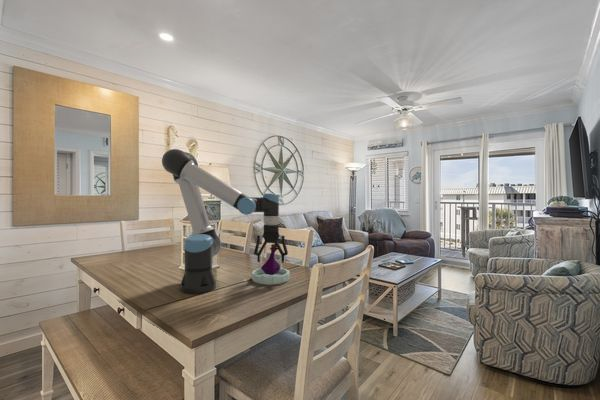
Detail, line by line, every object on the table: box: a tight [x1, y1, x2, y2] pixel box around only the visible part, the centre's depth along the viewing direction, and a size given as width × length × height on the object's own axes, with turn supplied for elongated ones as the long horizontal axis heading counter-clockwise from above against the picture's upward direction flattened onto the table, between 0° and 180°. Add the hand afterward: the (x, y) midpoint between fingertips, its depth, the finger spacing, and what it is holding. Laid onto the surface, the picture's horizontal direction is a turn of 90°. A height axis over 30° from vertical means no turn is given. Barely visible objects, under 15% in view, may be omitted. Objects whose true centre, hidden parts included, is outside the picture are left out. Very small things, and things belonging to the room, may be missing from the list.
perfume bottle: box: [261, 243, 280, 275], centre depth 146 cm, size 8×8×18 cm
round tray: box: [251, 267, 291, 286], centre depth 145 cm, size 18×18×4 cm
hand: (270, 268), depth 145 cm, fingers closed on perfume bottle, 9 cm apart
